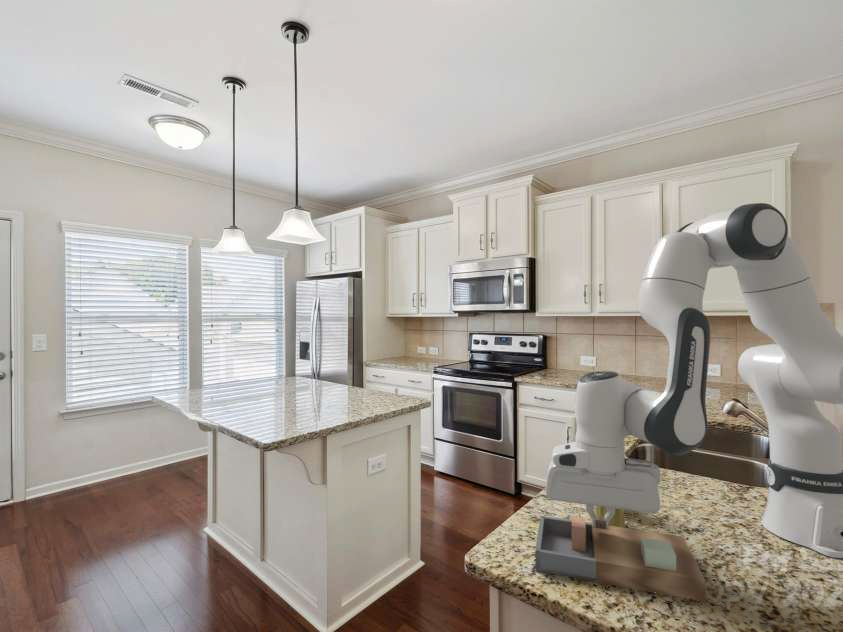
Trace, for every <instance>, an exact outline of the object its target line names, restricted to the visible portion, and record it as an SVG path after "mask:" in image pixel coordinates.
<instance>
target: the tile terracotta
mask: <svg viewBox="0 0 843 632" xmlns="http://www.w3.org/2000/svg"><path fill="white" fill-rule="evenodd" d="M571 520H572V532H571V540H572V549H574V550H579V551H585V552H586V525H585V522H586V517H584V516H578V515H571Z"/></svg>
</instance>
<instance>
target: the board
mask: <svg viewBox="0 0 843 632" xmlns="http://www.w3.org/2000/svg"><path fill="white" fill-rule="evenodd" d="M641 538H648V539H655V540H661V541H668V542H670V544H671V546H672V548H673V550H674V552H675V555H676V571H673V570H667V569H661V568H656V567H650V566H645V563H644V560H643V556H642V553H641ZM592 545H593V554H594V559H596V583H601V584H606V585H611V586H617V587H621V588H628V589H632V590H637V589H638V591H643V592H647V591H648V593H654V592H656V593H654V594H658V593H661V594H660V595H663V594H666V595H665V596H669V595H671V596H670V597H674V596H675V598H679V597H681V599H685V598H686V600H690V599H692V600H691V601H695V600H699V601H698V602H700V601H705V602H704V603H707V599H706V598H707V594H706V592H707V591H706V589H707V588H706V587H707V586H706V583H707V582H706V579H705V576H704V574H703V573H702V571H701V569H700V567H699V565H698V563H697V561H696V559H695V558H694V556H693V554H692V551H691V550H690V548H689V546H688V544H687V542H686V541H685V538H684V537H683V536H682V535H677V534H670V533H669V534H668V533H663V532H656V531H647V530H642V529H641V530H640V529H635V528H634V529H633V528H629V527H628V528H627V527H625V528H622V527H615V526H609V530H606V529H600V528H593V527H592Z"/></svg>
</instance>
